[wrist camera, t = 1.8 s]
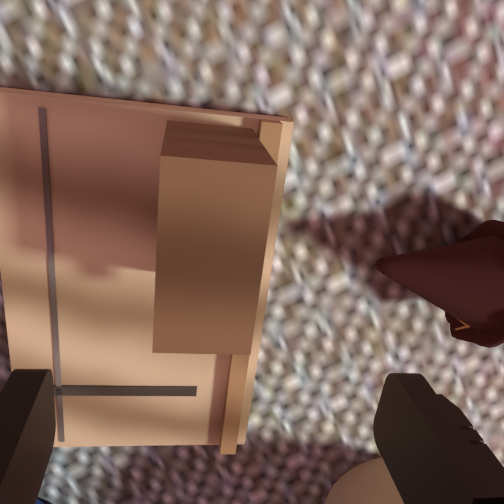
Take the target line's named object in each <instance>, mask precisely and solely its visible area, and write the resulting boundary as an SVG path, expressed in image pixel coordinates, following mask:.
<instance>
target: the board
mask: <svg viewBox="0 0 504 504" xmlns="http://www.w3.org/2000/svg"><path fill="white" fill-rule="evenodd" d="M167 120H170V121H180V122H190V123H200V124H210V125H220V126H230V127H240V128H250V129H252V130H253V131H254V133H255V134H256V135H257V137H258V138H259V140H260V141H261V143H262V144H263V145H264V147H265V148H266V150H267V151H268V153H269V154H270V155H271V157H272V158H273V160H274V161H275V163H276V164H277V165H278V168H277V175H276V182H275V189H274V195H273V202H272V209H271V216H270V223H269V230H268V237H267V244H266V251H265V258H264V265H263V272H262V279H261V285H260V292H259V299H258V306H257V313H256V320H255V327H254V334H253V341H252V348H251V355H235V354H182V353H152V346H153V322H154V297H155V272H156V248H157V223H158V198H159V174H160V154H161V149H162V144H163V139H164V134H165V129H166V124H167ZM293 125H294V122H293V121H292V120H290V119H289V118H288V117H280V116H271V115H261V114H252V113H242V112H233V111H223V110H214V109H204V108H195V107H186V106H176V105H167V104H157V103H148V102H138V101H129V100H119V99H110V98H100V97H91V96H82V95H72V94H63V93H53V92H44V91H34V90H25V89H15V88H6V87H0V272H1V281H2V290H3V299H4V308H5V317H6V326H7V335H8V345H9V354H10V363H11V372H12V371H13V370H14V369H51V370H52V373H53V384H54V399H55V415H56V431H55V439H54V445H53V447H78V446H154V445H219V448H220V454H236V447H237V444H245V439H246V433H247V426H248V419H249V413H250V406H251V400H252V393H253V387H254V380H255V374H256V367H257V360H258V354H259V347H260V341H261V334H262V328H263V321H264V315H265V308H266V302H267V295H268V288H269V282H270V275H271V269H272V262H273V256H274V249H275V243H276V236H277V230H278V223H279V216H280V210H281V203H282V197H283V190H284V184H285V177H286V171H287V164H288V157H289V151H290V144H291V138H292V131H293Z"/></svg>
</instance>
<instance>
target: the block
mask: <svg viewBox="0 0 504 504" xmlns="http://www.w3.org/2000/svg"><path fill="white" fill-rule="evenodd" d="M277 168H278V165H277V164H276V163H275V161H274V160H273V158H272V157H271V155H270V154H269V153H268V151H267V150H266V148H265V147H264V145H263V144H262V143H261V141H260V140H259V138H258V137H257V135H256V134H255V133H254V131H253V130H252V129H250V128H240V127H230V126H220V125H210V124H200V123H190V122H180V121H170V120H167V124H166V129H165V134H164V139H163V144H162V149H161V154H160V174H159V198H158V223H157V248H156V272H155V297H154V322H153V346H152V353H182V354H235V355H251V348H252V341H253V334H254V327H255V320H256V313H257V306H258V299H259V292H260V285H261V279H262V272H263V265H264V258H265V251H266V244H267V237H268V230H269V223H270V216H271V209H272V202H273V195H274V189H275V182H276V175H277Z"/></svg>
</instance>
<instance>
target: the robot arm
mask: <svg viewBox="0 0 504 504" xmlns="http://www.w3.org/2000/svg"><path fill="white" fill-rule="evenodd" d="M55 431H56V415H55V399H54V384H53V373H52V370H51V369H14V370H13V371H12V373H11V375H10V377H9V379H8V381H7V383H6V385H5V386H4V388H3V390H2V392H1V393H0V504H35V503H36V500H37V497H38V494H39V491H40V487H41V484H42V481H43V478H44V475H45V472H46V469H47V465H48V462H49V459H50V456H51V453H52V449H53V445H54V439H55ZM373 431H374V438H375V442H376V445H377V448H378V450H379V452H380V454H381V456H382V458H383V460H384V462H385V464H386V467H387V469H388V471H389V473H390V475H391V477H392V479H393V481H394V483H395V486H396V488H397V490H398V492H399V494H400V496H401V498H402V500H403V502H404V504H504V467H503V466H502V465H501V463H500V462H499V461H498V459H497V458H496V457H495V455H494V454H493V453H492V451H491V450H490V448H489V447H488V446H487V444H484V443H483V441H484V440H483V439H482V438H481V436H480V435H479V434H478V432H477V431H476V430H473V426H472V424H471V423H470V422H469V420H468V419H467V418H466V416H465V415H464V414H463V412H462V411H461V410H460V409H459V408H458V407H457V406H456V405H454V404H453V403H452V402H451V401H449V400H448V399H447V398H446V397H444V396H443V395H442V394H436V393H435V392H434V390H433V389H432V387H431V386H430V385H429V383H428V382H427V380H426V379H425V378H424V377H423V376H422V375H421V374H418V373H391V374H389V375H388V376H387V378H386V380H385V383H384V387H383V390H382V394H381V397H380V401H379V404H378V408H377V411H376V415H375V418H374V425H373Z"/></svg>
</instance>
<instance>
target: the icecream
mask: <svg viewBox="0 0 504 504" xmlns="http://www.w3.org/2000/svg"><path fill="white" fill-rule="evenodd" d="M375 267H376V269H377V270H379V271H380V272H382V273H383V274H385V275H386V276H388V277H389V278H391V279H393V280H394V281H396V282H398V283H399V284H401V285H403V286H404V287H406V288H408V289H409V290H411V291H413V292H414V293H416V294H418V295H419V296H421V297H423V298H424V299H426V300H428V301H429V302H431V303H432V304H434V305H436V306H437V307H439V308H441V309H442V310H444V311H445V317H446V319H447V321H448V322H449V323H450V331H451V335H452V337H454V338H457V339H460V340H464V341H468V342H473V343H476V344H478V345H480V346H484V347H489V348H490V347H495V346H498V345H500V344H502V343H504V222H502V221H497V220H487V221H485V222H484V223H482V224H481V225H480V226H478V227H477V228H476V229H475V230H474V231H472V232H471V233H470V234H469V235H467V236H466V237H464V238H463V239H461V240H460V241H458V242H457V243H454V244H449V245H444V246H440V247H435V248H430V249H425V250H421V251H416V252H410V253H405V254H400V255H394V256H389V257H385V258H381V259H378V260H377V261H376V264H375Z"/></svg>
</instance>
